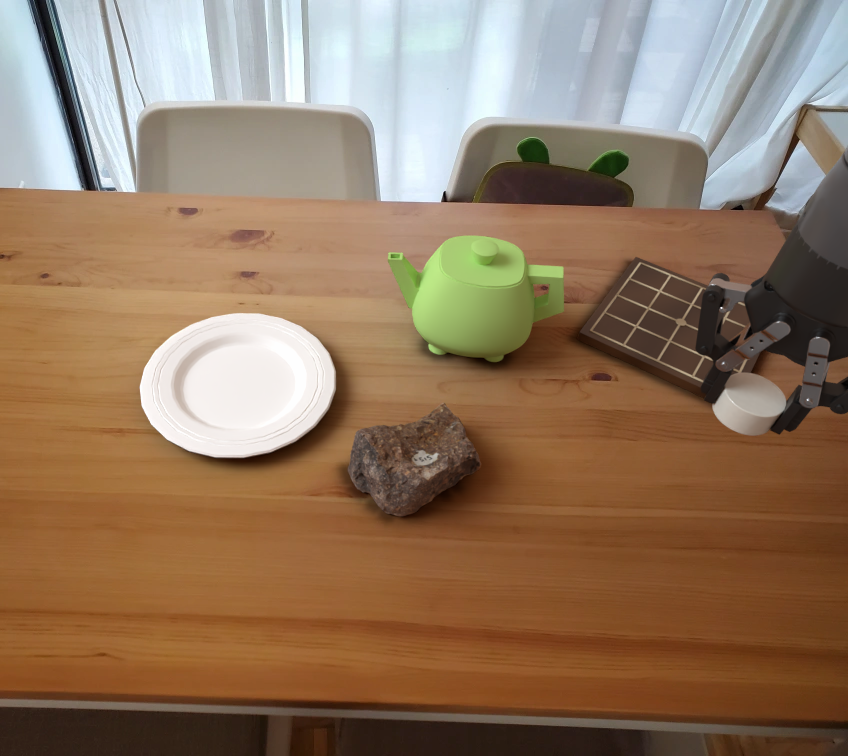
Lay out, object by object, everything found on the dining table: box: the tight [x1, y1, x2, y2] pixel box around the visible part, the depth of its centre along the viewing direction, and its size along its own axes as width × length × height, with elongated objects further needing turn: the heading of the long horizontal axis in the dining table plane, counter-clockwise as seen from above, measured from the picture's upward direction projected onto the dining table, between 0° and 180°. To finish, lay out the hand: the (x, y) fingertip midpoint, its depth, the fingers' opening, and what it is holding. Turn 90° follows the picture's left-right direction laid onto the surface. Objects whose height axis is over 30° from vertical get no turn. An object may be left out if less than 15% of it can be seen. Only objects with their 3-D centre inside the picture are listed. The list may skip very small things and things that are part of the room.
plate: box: [139, 312, 337, 459], centre depth 77 cm, size 21×21×2 cm
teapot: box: [387, 235, 565, 363], centre depth 81 cm, size 20×13×13 cm
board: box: [576, 256, 761, 399], centre depth 86 cm, size 18×18×1 cm
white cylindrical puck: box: [711, 372, 787, 437], centre depth 57 cm, size 5×5×2 cm
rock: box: [347, 402, 482, 517], centre depth 69 cm, size 13×8×6 cm, turn 120°
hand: (744, 410), depth 57 cm, fingers closed on white cylindrical puck, 4 cm apart
